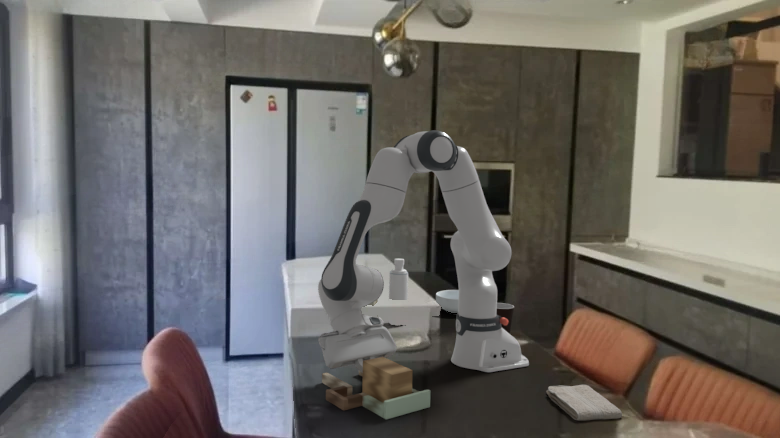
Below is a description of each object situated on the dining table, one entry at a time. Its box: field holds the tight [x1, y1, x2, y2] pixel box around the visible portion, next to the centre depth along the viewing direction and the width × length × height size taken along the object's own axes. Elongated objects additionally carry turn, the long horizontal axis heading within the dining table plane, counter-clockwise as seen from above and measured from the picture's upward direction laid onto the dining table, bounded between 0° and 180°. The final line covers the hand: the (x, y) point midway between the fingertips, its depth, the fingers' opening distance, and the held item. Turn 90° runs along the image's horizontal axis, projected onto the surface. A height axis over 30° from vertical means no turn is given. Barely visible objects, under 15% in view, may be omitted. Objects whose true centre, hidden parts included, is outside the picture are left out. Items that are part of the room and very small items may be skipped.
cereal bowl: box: [435, 289, 459, 314], centre depth 244 cm, size 17×17×7 cm
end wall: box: [383, 388, 432, 420], centre depth 145 cm, size 1×13×4 cm, turn 127°
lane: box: [321, 370, 420, 419], centre depth 157 cm, size 27×23×2 cm
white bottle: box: [388, 257, 409, 300], centre depth 223 cm, size 7×7×25 cm
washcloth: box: [545, 384, 623, 422], centre depth 152 cm, size 12×18×3 cm, turn 12°
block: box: [361, 357, 413, 403], centre depth 151 cm, size 12×6×9 cm, turn 37°
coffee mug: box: [497, 302, 515, 335], centre depth 214 cm, size 12×9×10 cm
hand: (371, 376), depth 157 cm, fingers closed, pressing on block
